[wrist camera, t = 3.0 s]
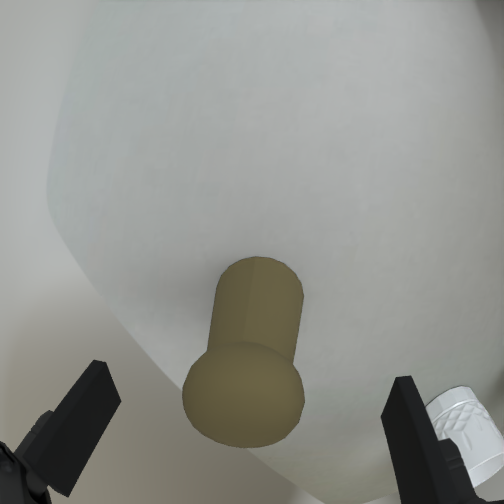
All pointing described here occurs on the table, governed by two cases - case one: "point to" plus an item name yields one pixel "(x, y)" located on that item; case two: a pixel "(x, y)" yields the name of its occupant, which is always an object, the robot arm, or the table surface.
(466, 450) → the white cup
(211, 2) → the table surface
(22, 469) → the robot arm
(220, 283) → the olive pawn
